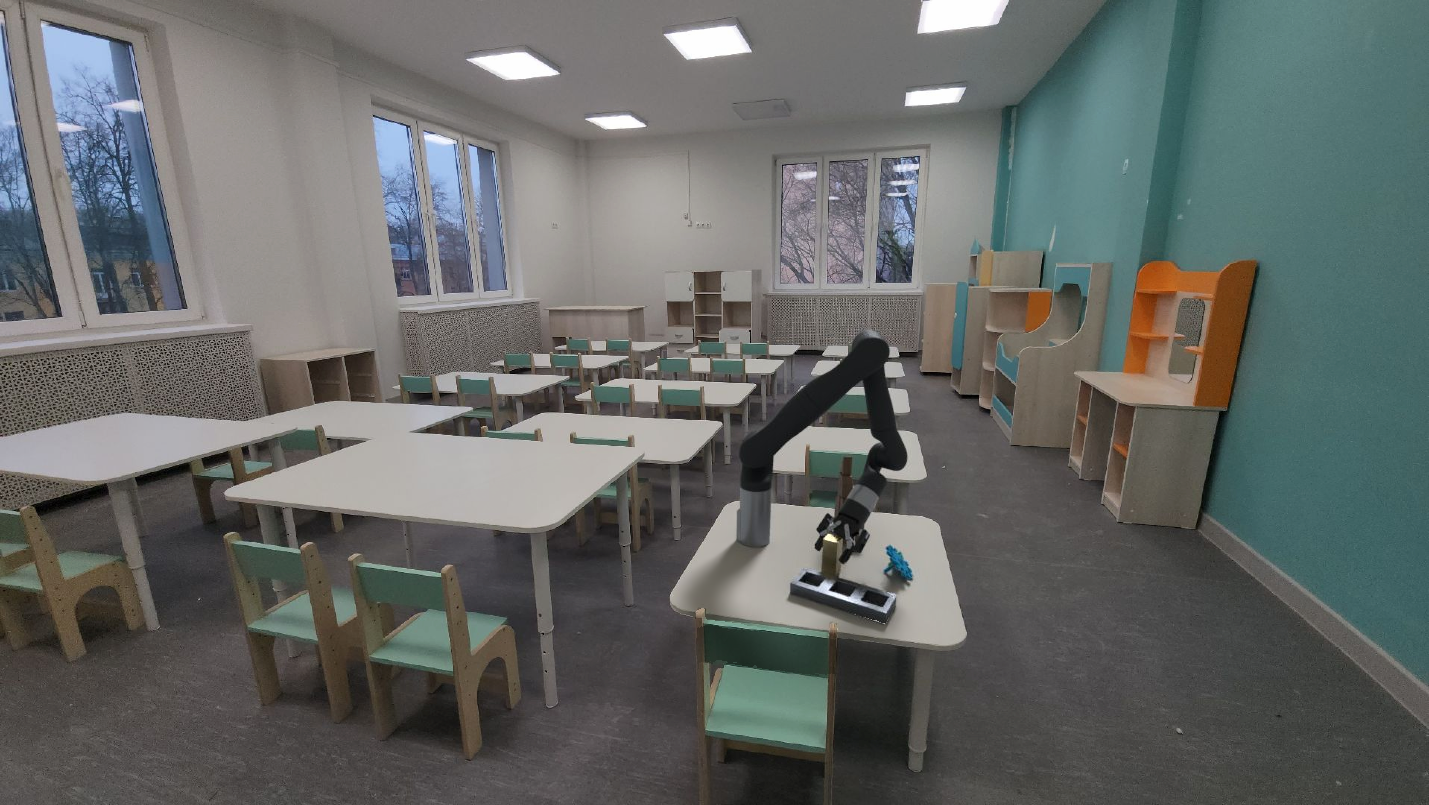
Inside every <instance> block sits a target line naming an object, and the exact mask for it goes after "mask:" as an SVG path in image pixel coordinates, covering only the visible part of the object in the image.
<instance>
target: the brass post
mask: <svg viewBox="0 0 1429 805" xmlns="http://www.w3.org/2000/svg"><path fill="white" fill-rule="evenodd" d="M843 545H844V544H843V537H841V536H837V535H833V534H828V535H827V536H826V537H825V538H824V539H823V547H822V550H821V551H822V554H821V555H822V556H821V571H820V572H822V573H826V574H829V575H832V576H836V577H838V575H839V574H840V573H841V570H842V563H841V562H840V561H839V558H840V556H841V555H842V553H843Z"/></svg>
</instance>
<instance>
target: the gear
mask: <svg viewBox="0 0 1429 805" xmlns="http://www.w3.org/2000/svg"><path fill="white" fill-rule="evenodd" d="M885 550H886V552H885V553H886V555H887V556H888V557H889V561H890V562H888V563H887V565H888V566H887V567H886V568H884V569H883V572H884V574H887V573H889V572H890V571H892V570H893V569H895V570H896V571H897V572H898V571H900V575H901V576H902V577H903V578H906V579H907V580H909V581H910V580H911V579H912V578H913V577H914V575H913V570H912V568H910V567H909V566H910V564H909V562H908V561H907V560H905V558H904V555H903V552H902V551H901V550H900V551H899V550H898V549H897V548H896V547H893V546H892V545H891V544H889V545H887V546H885Z"/></svg>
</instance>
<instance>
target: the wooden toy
mask: <svg viewBox="0 0 1429 805" xmlns="http://www.w3.org/2000/svg"><path fill="white" fill-rule="evenodd" d="M838 468H839V472H838V485H837V486H838V488H837V496H835V498H834V499H835V500H834V516H833V517H834V518H835V517H836V516H838V513H839V510H840V508H841V507H842V505H843V503H844V502H845V500H846V498H847V497H848V495H849V493H850V492H851V490H852V489H853V488H854V487H855V485H854V480H853V476H852V472H853V471H852V469H853V456H849V455H848V456H847V455H846V456H843V458H842V459H841V462H840V465H839V467H838ZM861 529H862V530H864V529H865V525H864V526H863V527H862V528H861ZM858 538H859V534H858V535H856V536H855V544H856V542H857V540H858ZM842 545H847V541H846V540H845V539H843V544H842Z"/></svg>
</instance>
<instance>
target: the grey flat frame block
mask: <svg viewBox="0 0 1429 805" xmlns="http://www.w3.org/2000/svg"><path fill="white" fill-rule="evenodd" d="M808 583H809V584H808ZM789 585H790V586H789V587H790V588H789V595H790V594H791V595H794V596H796V597H800V598H802V599H806V600H809V601H812V602H814V603H818V604H820V605H824V606H826V607H830V608H833V609H837V610H839V611H841V612H845V613H849V614H851V615H854V614H856V615H855V616H857V615H859V616H858V617H860V616H861V617H860V618H863V617H866V618H869V619H872V620H877V621H879V622H881V623H885V624H887V623H886V622H888V621H889V619H890V617H891V615H892V614H893V612H892V611H894V610H895V608H896V606H897V598H898V597H897V596H898V595H897V594H896V593H893V592H890V591H889V592H888V591H886V590H882V589H879V588H876V587H872V586H869V585H866V584H862V583H859V582H856V581H853V580H849V579H845V578H843V577H842V578H841V577H839V576H832V575H829V574H826V573H822V572H821V571H819V570H816V569H812V568H809V567H805V566H804V567H803V569H801V570H800V572H799V573H798V574H797V575H796V576H795V577H794V578H793V579H792V580H791V582H790V584H789ZM878 605H879V606H878ZM882 606H883V607H882ZM891 613H892V614H891ZM866 618H865V619H866ZM888 618H889V619H888ZM869 619H868V620H869ZM872 620H871V621H872ZM887 620H888V621H887ZM881 623H880V624H881Z"/></svg>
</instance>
